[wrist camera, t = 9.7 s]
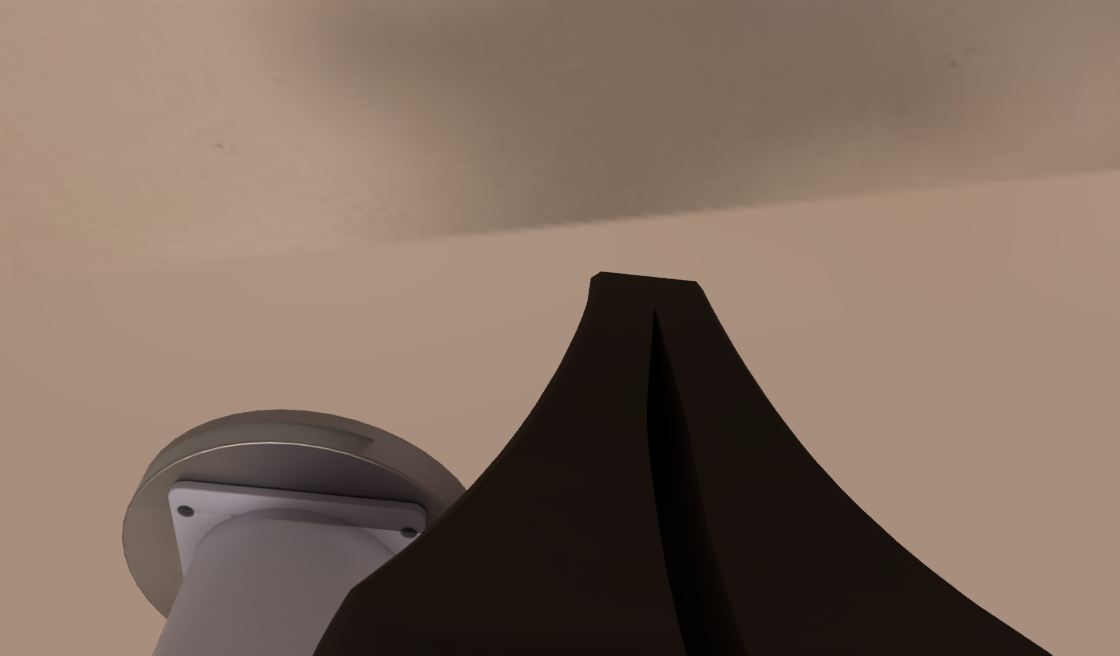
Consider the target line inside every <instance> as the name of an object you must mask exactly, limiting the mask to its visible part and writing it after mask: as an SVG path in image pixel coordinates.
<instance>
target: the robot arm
mask: <svg viewBox="0 0 1120 656" xmlns="http://www.w3.org/2000/svg"><path fill="white" fill-rule="evenodd" d="M168 499H169V504H170V509H171V515H172V520H173V525H174V530H175V535H176V541H177V546H178V551H179V556H180V561H181V566H182V572H183V577H184V580H183V582H182V585H181V587H180V589H179V592H178V594H177V597H176V599H175V602H174V604H173V606H172V609H171V611H170V614H169V616H168V618H167V621H166V623H165V626H164V628H163V631H162V633H161V635H160V638H159V640H158V643H157V645H156V647H155V650H154V652H153V655H152V656H1052V654H1050V653H1049V652H1047V651H1046V650H1044V649H1043V648H1041V647H1040V646H1038V645H1037V644H1035V643H1034V642H1032V641H1031V640H1029V639H1028V638H1026V637H1025V636H1023V635H1022V634H1020V633H1019V632H1017V631H1016V630H1014V629H1013V628H1011V627H1010V626H1008V625H1007V624H1005V623H1004V622H1002V621H1001V620H999V619H998V618H996V617H995V616H993V615H992V614H990V613H989V612H987V611H986V610H984V609H983V608H981V607H980V606H978V605H977V604H976V603H974V602H973V601H971V600H970V599H969V598H967V597H966V596H965V595H963V594H962V593H961V592H959V591H958V590H957V589H955V588H954V587H953V586H952V585H950V584H949V583H948V582H946V581H945V580H944V579H943V578H941V577H940V576H938V575H937V574H936V573H935V572H933V571H932V570H931V569H930V568H928V567H927V566H926V565H924V564H923V563H922V562H921V561H920V560H918V559H917V558H916V557H915V556H914V555H912V554H911V553H910V552H909V551H908V550H906V549H905V548H904V547H903V546H902V545H901V544H899V543H898V542H897V541H896V540H895V539H894V538H893V537H892V536H890V535H889V534H888V533H887V532H886V531H885V530H884V529H883V528H882V527H881V526H880V525H878V524H877V523H876V522H875V521H874V520H873V519H872V518H871V517H870V516H869V515H867V514H866V513H865V512H864V511H863V510H862V509H861V508H860V507H859V506H858V505H857V504H856V503H855V502H854V501H853V500H852V499H851V498H850V497H849V496H848V495H847V494H846V493H845V492H844V491H843V490H842V489H841V488H840V487H839V486H838V485H837V484H836V482H834V480H833V479H832V478H831V477H830V476H829V475H828V474H827V473H826V472H825V471H824V469H823V468H822V467H821V466H820V465H819V464H818V463H817V462H816V461H815V460H814V458H813V457H812V456H811V455H810V454H809V452H808V451H807V450H806V449H805V447H804V446H803V445H802V444H801V442H800V441H799V440H798V439H797V437H796V436H795V435H794V434H793V432H792V431H791V430H790V428H789V427H788V426H787V424H786V423H785V422H784V420H783V419H782V418H781V416H780V415H779V414H778V412H777V411H776V410H775V408H774V407H773V405H772V404H771V403H770V401H769V400H768V398H767V397H766V395H765V394H764V392H763V391H762V390H761V388H760V386H759V385H758V383H757V382H756V380H755V379H754V377H753V376H752V374H751V373H750V371H749V370H748V368H747V367H746V365H745V364H744V362H743V360H742V359H741V357H740V356H739V354H738V352H737V351H736V349H735V347H734V346H733V344H732V342H731V341H730V339H729V337H728V335H727V334H726V332H725V330H724V329H723V327H722V325H721V323H720V321H719V320H718V318H717V316H716V314H715V313H714V310H713V309H712V307H711V305H710V303H709V301H708V299H707V297H706V295H705V293H704V291H703V289H702V288H701V287H700V286H699V284H698V283H697V282H696V281H686V280H676V279H667V278H658V277H649V276H639V275H630V274H620V273H611V272H599V273H598V274H596V275H595V276H593V277H592V278H591V281H590V288H589V295H588V301H587V305H586V308H585V311H584V314H583V316H582V319H581V321H580V324H579V326H578V329H577V331H576V333H575V335H574V338H573V339H572V341H571V343H570V346H569V347H568V350H567V352H566V353H565V355H564V357H563V360H562V361H561V364H560V365H559V367H558V369H557V371H556V373H555V374H554V376H553V377H552V379H551V381H550V382H549V384H548V385H547V387H546V389H545V391H544V392H543V394H542V395H541V397H540V399H539V400H538V402H537V403H536V405H535V407H534V408H533V409H532V411H531V412H530V414H529V415H528V417H527V418H526V420H525V421H524V422H523V424H522V425H521V427H520V428H519V429H518V431H517V432H516V433H515V435H514V436H513V437H512V439H511V440H510V441H509V442H508V444H507V445H506V446H505V448H504V449H503V450H502V451H501V453H500V454H499V455H498V456H497V458H495V460H494V461H493V462H492V463H491V464H490V466H489V467H488V468H487V469H486V470H485V471H484V472H483V473H482V475H481V476H480V477H479V478H478V479H477V480H476V481H475V483H474V484H473V485H472V486H471V487H470V488H469V489H468V490H467V491H466V492H465V493H464V494H463V495H462V496H461V497H460V498H459V499H458V500H457V501H456V502H455V503H454V504H453V505H452V506H451V507H450V508H449V509H448V510H447V511H445V512H444V513H443V514H442V515H441V516H440V517H439V518H438V519H437V520H436V521H435V522H434V523H432V524H431V525H430V526H429V527H428V528H427V529H426V518H427V515H426V511H425V510H424V509H423V508H422V507H421V506H419V505H417V504H414V503H408V502H398V501H388V500H377V499H367V498H357V497H347V496H336V495H326V494H316V493H306V492H295V491H285V490H275V489H265V488H254V487H244V486H234V485H224V484H213V483H203V482H193V481H179V482H176V483H174V485H173V486H172V487H171V489H170V492H169V495H168ZM187 506H189V507H187ZM190 507H191V508H190ZM406 527H410V528H413V529H409V528H406Z"/></svg>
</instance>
